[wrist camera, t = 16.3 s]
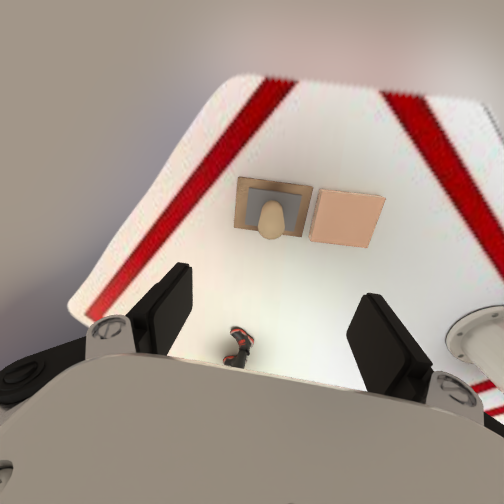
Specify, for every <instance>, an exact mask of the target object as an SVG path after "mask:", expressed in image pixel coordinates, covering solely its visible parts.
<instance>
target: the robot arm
mask: <svg viewBox="0 0 504 504" xmlns="http://www.w3.org/2000/svg"><path fill="white" fill-rule="evenodd" d="M192 306H193V294H192V267H189V264H186V263H180V262H178V263H176V265H175V266H174V267H173V268H172V269H171V270H170V271H169V272H168V273H167V274H166V275H165V276H164V277H163V278H162V280H161V281H160V282H159V283H156V284H155V285H154V286H153V287H152V288H151V289H150V290H149V291H148V292H147V293H146V294H145V295H144V296H143V297H142V299H141V300H140V301H139V302H138V303H137V304H136V305H135V306H134V307H133V308H132V309H131V310H130V311H129V312H128V313H127V314H126V315H125V316H123V315H111V316H107V317H104V318H102V319H100V320H98V321H96V322H95V323H94V324H92V325H91V326H90V328H89V329H88V331H87V334H86V336H85V337H82V338H79V339H77V340H73V341H71V342H68V343H65V344H62V345H59V346H56V347H53V348H50V349H48V350H45V351H42V352H39V353H36V354H33V355H30V356H27V357H25V358H23V359H20V360H17V361H15V362H14V363H12V364H10V365H8V366H7V367H5V368H4V369H3V370H2V371H0V504H504V425H503V424H501V423H500V422H498V421H497V420H495V419H494V418H493V417H491V416H490V415H488V414H487V413H485V412H484V411H483V404H482V401H481V399H480V398H479V396H478V395H477V394H476V393H475V391H474V390H473V389H472V388H471V387H469V386H468V385H467V384H466V383H465V382H463V381H462V380H460V379H459V378H457V377H455V376H453V375H451V374H449V373H446V372H443V371H435V372H434V371H433V370H432V368H431V366H432V365H433V363H432V362H431V361H430V359H429V358H428V357H427V355H426V354H425V353H424V351H423V350H422V349H421V347H420V346H419V345H418V343H417V342H416V341H415V339H414V338H413V337H412V335H411V334H410V333H409V331H408V330H407V329H406V328H405V326H404V325H403V324H402V322H401V321H400V320H399V318H398V317H397V316H396V314H395V313H394V312H393V310H392V309H391V308H390V306H389V305H388V304H387V302H386V301H385V300H384V298H383V297H382V296H381V295H379V294H373V293H367V294H366V295H363V296H362V298H361V301H360V303H359V305H358V307H357V310H356V312H355V314H354V316H353V319H352V321H351V323H350V325H349V328H348V330H347V334H346V336H347V340H348V342H349V345H350V347H351V350H352V353H353V355H354V358H355V360H356V363H357V365H358V368H359V371H360V373H361V376H362V378H363V381H364V383H365V386H366V389H367V391H368V392H366V391H360V390H355V389H350V388H345V387H339V386H334V385H329V384H323V383H318V382H313V381H307V380H302V379H296V378H291V377H286V376H280V375H275V374H269V373H264V372H258V371H253V370H247V369H241V368H236V367H230V366H224V365H219V364H213V363H207V362H202V361H196V360H190V359H184V358H177V357H171V356H167V354H168V352H169V350H170V348H171V347H172V345H173V343H174V341H175V339H176V338H177V336H178V334H179V332H180V330H181V329H182V327H183V325H184V323H185V321H186V319H187V318H188V316H189V314H190V312H191V310H192ZM446 344H447V347H448V349H449V351H450V352H451V353H452V354H453V355H454V356H455V357H456V358H457V359H459V360H461V361H463V362H466V363H471V364H475V365H476V366H477V367H478V368H479V369H480V370H481V371H482V372H483V373H484V374H485V375H486V376H487V377H488V378H489V379H490V380H491V381H492V382H493V383H494V384H495V386H496V387H497V388H498V389H499V390H500V391H501V392H502V393H503V394H504V306H497V307H490V308H486V309H482V310H479V311H476V312H474V313H472V314H470V315H468V316H466V317H464V318H463V319H461V320H460V321H459V322H457V323H456V324H455V325H454V326H453V327H452V329H451V330H450V332H449V333H448V335H447V339H446Z"/></svg>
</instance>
